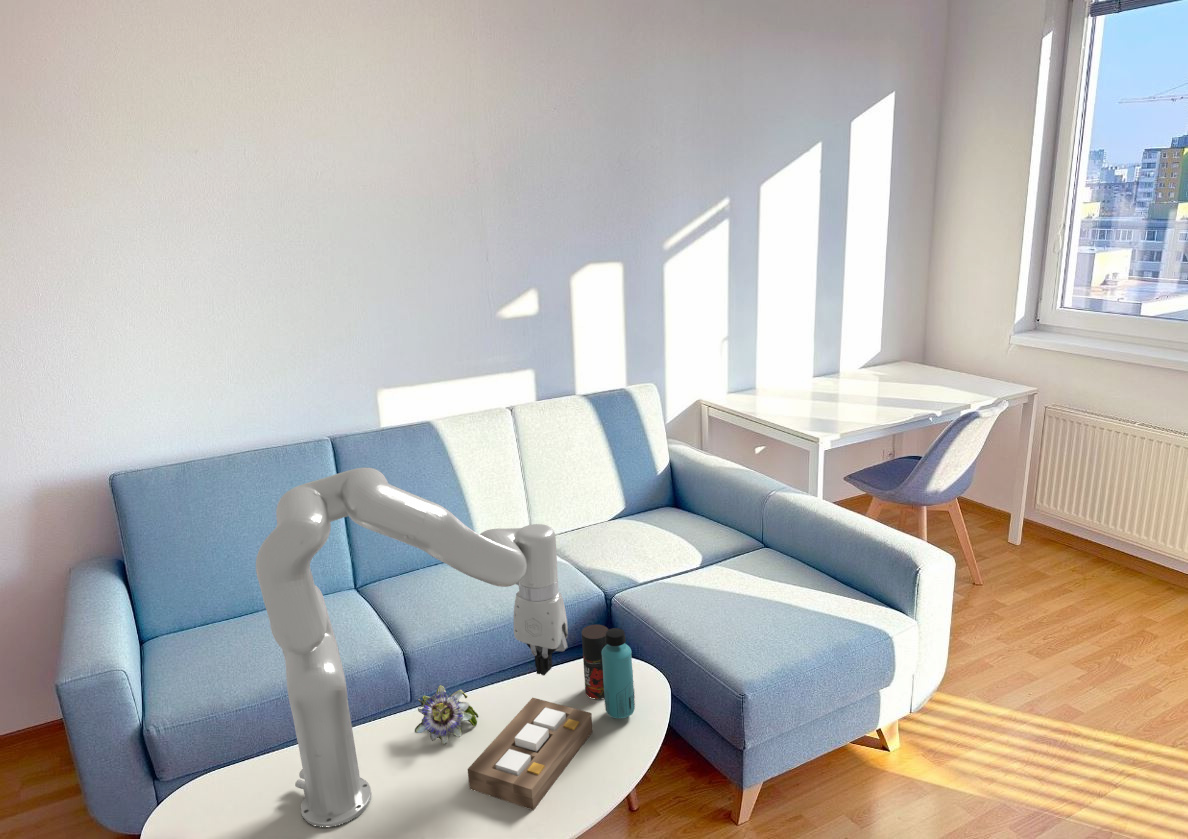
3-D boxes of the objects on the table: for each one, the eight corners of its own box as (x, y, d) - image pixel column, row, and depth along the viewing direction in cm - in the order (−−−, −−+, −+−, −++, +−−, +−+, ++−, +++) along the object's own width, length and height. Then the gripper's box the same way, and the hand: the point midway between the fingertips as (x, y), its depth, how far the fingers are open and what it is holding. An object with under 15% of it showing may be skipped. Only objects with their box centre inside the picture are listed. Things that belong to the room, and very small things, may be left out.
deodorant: (617, 688, 186) (613, 628, 182) (603, 702, 181) (599, 641, 177) (594, 680, 189) (590, 622, 185) (580, 694, 184) (576, 634, 180)
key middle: (515, 745, 163) (514, 737, 162) (528, 730, 167) (527, 723, 166) (536, 751, 160) (536, 743, 160) (548, 736, 164) (548, 728, 164)
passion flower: (447, 764, 173) (409, 738, 166) (440, 725, 182) (403, 699, 176) (490, 731, 172) (453, 703, 166) (480, 694, 182) (445, 666, 175)
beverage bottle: (633, 726, 173) (629, 641, 167) (601, 724, 174) (596, 639, 168) (637, 707, 179) (634, 624, 173) (607, 705, 180) (602, 622, 175)
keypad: (469, 789, 158) (467, 767, 156) (534, 715, 178) (532, 696, 177) (533, 810, 151) (531, 788, 150) (592, 731, 172) (591, 711, 170)
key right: (534, 728, 169) (533, 720, 168) (545, 714, 173) (545, 707, 172) (554, 734, 167) (554, 726, 166) (566, 720, 171) (565, 712, 170)
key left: (496, 772, 157) (495, 764, 156) (509, 756, 161) (509, 748, 160) (518, 779, 155) (517, 771, 154) (531, 763, 159) (530, 755, 158)
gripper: (495, 589, 161) (502, 672, 166) (563, 603, 155) (568, 690, 160) (516, 573, 168) (521, 653, 173) (582, 586, 161) (586, 669, 166)
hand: (544, 671), depth 166 cm, fingers closed
